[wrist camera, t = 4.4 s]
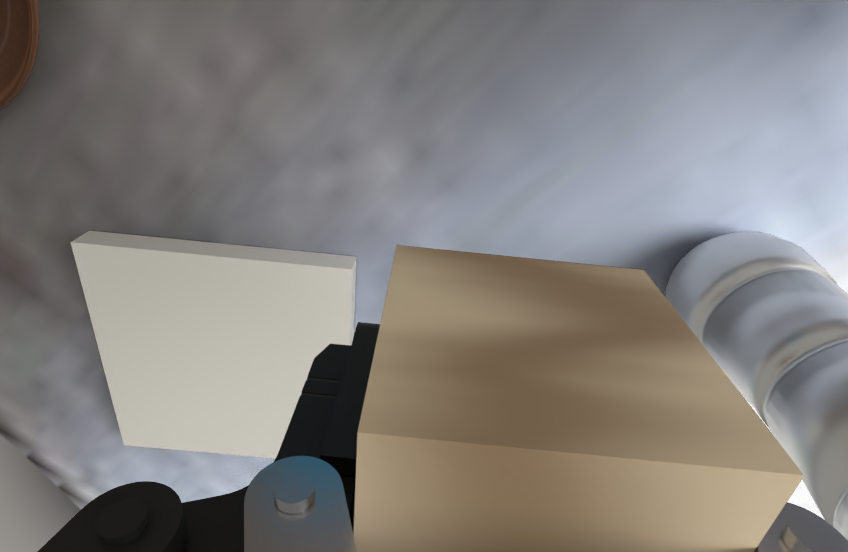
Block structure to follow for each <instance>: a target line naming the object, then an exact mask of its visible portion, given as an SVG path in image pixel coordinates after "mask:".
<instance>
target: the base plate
mask: <svg viewBox="0 0 848 552" xmlns="http://www.w3.org/2000/svg"><path fill="white" fill-rule="evenodd" d="M71 246H72V250H73V254H74V257H75V261H76V265H77V269H78V273H79V276H80V280H81V284H82V288H83V292H84V295H85V299H86V303H87V307H88V311H89V314H90V318H91V322H92V326H93V330H94V333H95V337H96V341H97V345H98V349H99V352H100V356H101V360H102V364H103V368H104V372H105V375H106V379H107V383H108V387H109V391H110V394H111V398H112V402H113V406H114V410H115V413H116V417H117V421H118V425H119V429H120V432H121V436H122V440H123V444H124V445H128V446H139V447H151V448H162V449H173V450H184V451H196V452H207V453H218V454H230V455H241V456H252V457H263V458H275V459H276V457H277V455H278V452H279V450H280V447H281V444H282V442H283V439H284V437H285V434H286V431H287V429H288V426H289V423H290V421H291V418H292V416H293V413H294V410H295V408H296V405H297V402H298V400H299V397H300V396H301V393H302V389H303V387H304V384H305V381H306V380H307V376H308V373H309V371H310V368H311V366H312V363H313V360H314V358H315V357H316V356H317V355H318V354H319V353H320V352H322V351H323V350H324V349H325V348H326V347H327V346H328V345H329V344H340V345H350V346H351V345H352V341H353V338H354V314H355V285H356V257H355V256H344V255H334V254H324V253H314V252H303V251H293V250H283V249H273V248H262V247H252V246H242V245H232V244H221V243H211V242H201V241H191V240H181V239H170V238H160V237H150V236H140V235H129V234H119V233H109V232H99V231H88V232H86V233H85V234H83V235H82V236H80V237H78V238H77V239H75V240H73V241H72V242H71Z"/></svg>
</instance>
